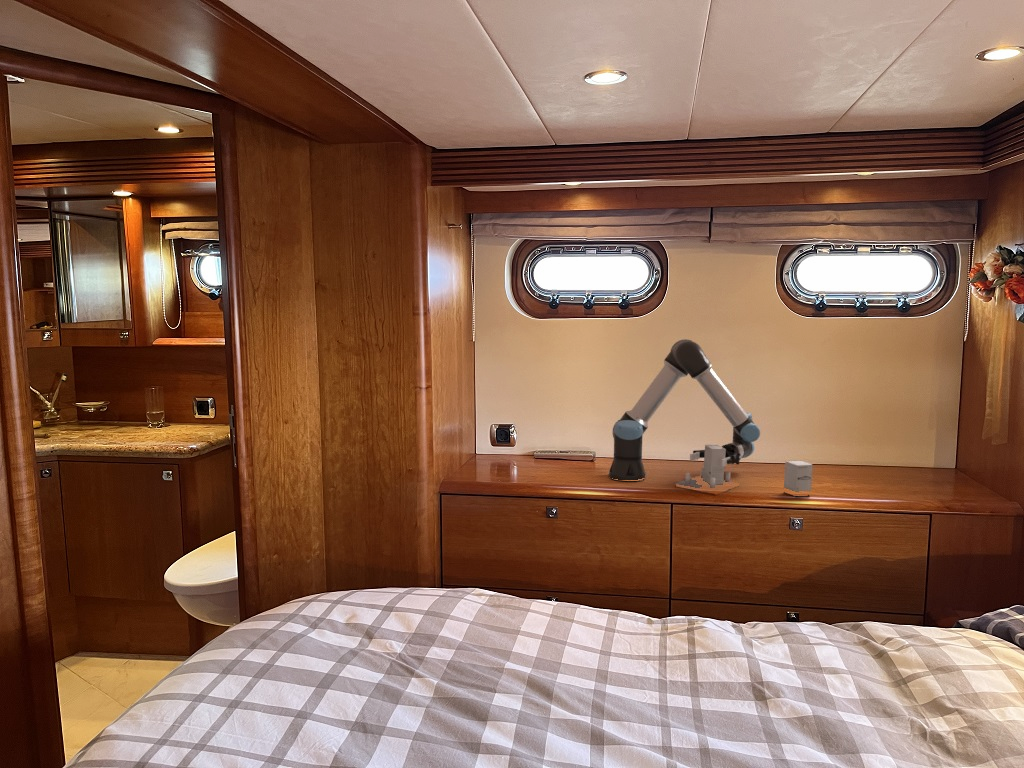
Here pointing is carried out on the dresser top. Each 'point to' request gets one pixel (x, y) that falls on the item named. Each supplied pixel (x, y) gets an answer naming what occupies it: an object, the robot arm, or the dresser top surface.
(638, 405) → the robot arm
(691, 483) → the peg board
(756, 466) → the dresser top surface
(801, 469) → the supplement box
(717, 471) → the skincare box
